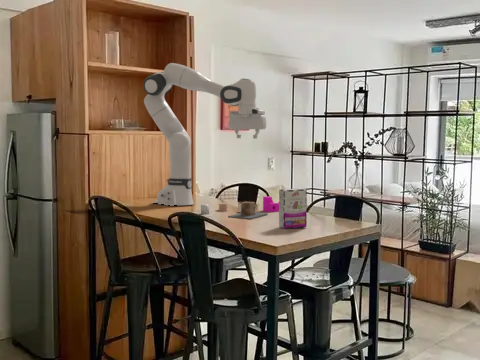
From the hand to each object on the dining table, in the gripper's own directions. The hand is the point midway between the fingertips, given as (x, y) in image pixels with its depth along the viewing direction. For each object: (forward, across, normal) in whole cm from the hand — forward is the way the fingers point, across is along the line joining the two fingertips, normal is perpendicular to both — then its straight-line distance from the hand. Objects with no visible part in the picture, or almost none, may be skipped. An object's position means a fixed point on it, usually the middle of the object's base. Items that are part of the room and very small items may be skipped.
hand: (246, 138), depth 277 cm
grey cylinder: (+37, -10, -24) cm, 45 cm away
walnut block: (+36, +10, -17) cm, 41 cm away
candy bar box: (+37, +40, -34) cm, 64 cm away
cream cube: (+37, +2, -6) cm, 38 cm away
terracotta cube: (+37, -9, -8) cm, 39 cm away
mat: (+37, +10, -17) cm, 42 cm away
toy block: (+38, +13, +11) cm, 41 cm away
